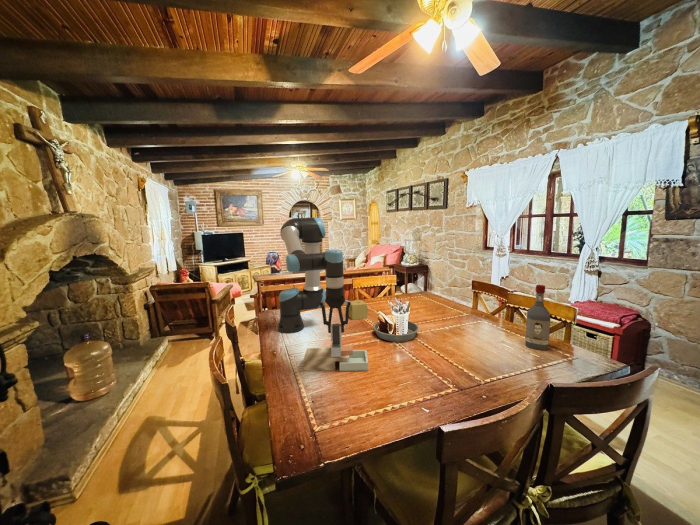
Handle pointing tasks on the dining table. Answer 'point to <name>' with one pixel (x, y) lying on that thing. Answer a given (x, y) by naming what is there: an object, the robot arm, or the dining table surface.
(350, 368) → the box
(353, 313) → the cheese
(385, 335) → the cake pan
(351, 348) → the tile
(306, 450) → the dining table surface
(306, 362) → the ledge
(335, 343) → the scraper
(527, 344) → the liquor
